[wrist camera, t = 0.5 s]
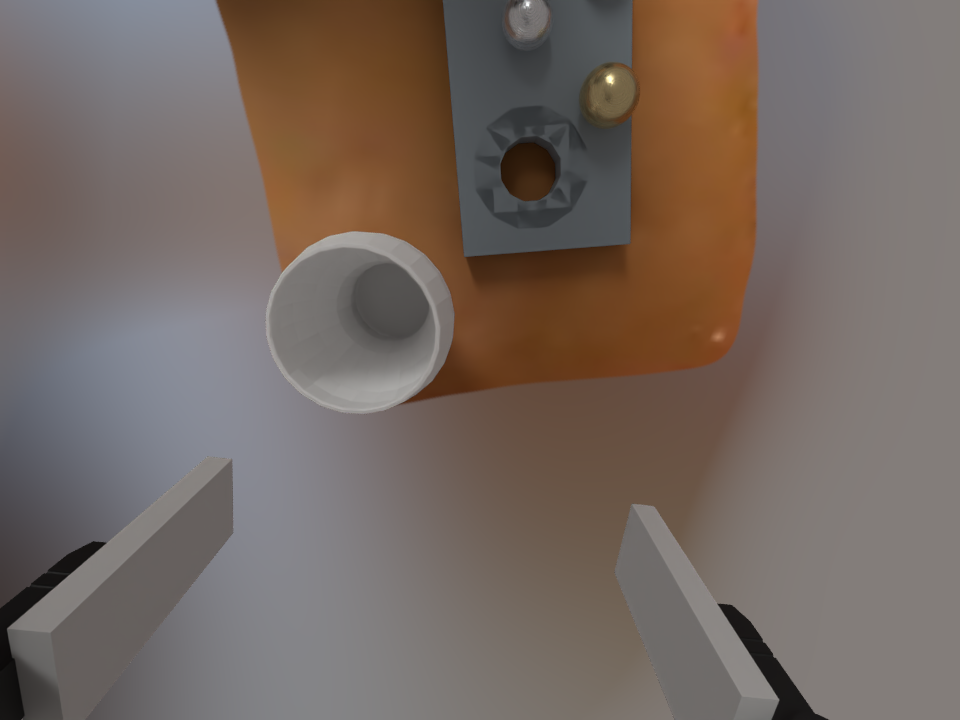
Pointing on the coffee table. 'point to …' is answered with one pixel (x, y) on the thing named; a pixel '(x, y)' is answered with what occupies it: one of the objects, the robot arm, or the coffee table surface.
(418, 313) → the cup
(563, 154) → the plate
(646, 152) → the coffee table surface
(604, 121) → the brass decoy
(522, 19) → the steel ball
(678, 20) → the coffee table surface
